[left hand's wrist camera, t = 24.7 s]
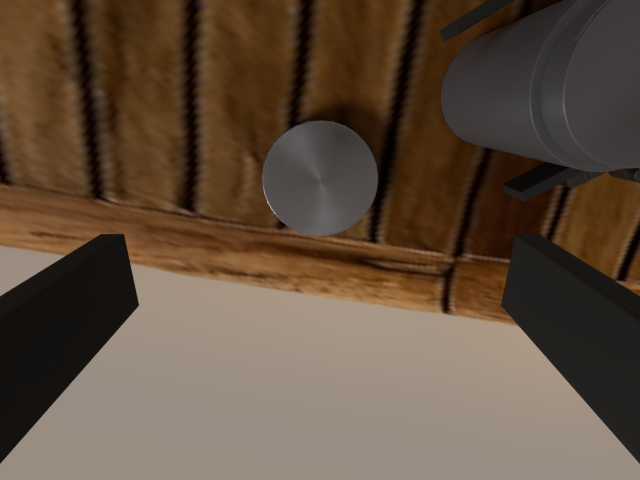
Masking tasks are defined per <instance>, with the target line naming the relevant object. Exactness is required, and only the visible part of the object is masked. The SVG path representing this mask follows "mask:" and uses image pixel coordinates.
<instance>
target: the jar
mask: <svg viewBox="0 0 640 480" xmlns="http://www.w3.org/2000/svg"><path fill="white" fill-rule="evenodd" d="M441 106H442V111H443V115H444V118H445V120H446V122H447V124H448V126H449V127H450V128H451V130H452V131H453V132H454V133H455V134H456V135H457V136H458V137H460V138H461V139H463V140H464V141H466V142H469V143H472V144H475V145H479V146H483V147H487V148H491V149H495V150H500V151H504V152H508V153H512V154H516V155H520V156H524V157H529V158H533V159H537V160H541V161H545V162H549V163H553V164H558V165H562V166H566V167H570V168H574V169H578V170H584V171H589V172H606V171H614V170H618V169H623V168H640V0H563V1H560V2H558V3H556V4H553V5H551V6H549V7H547V8H544V9H542V10H540V11H538V12H535V13H533V14H531V15H528V16H526V17H524V18H522V19H519V20H517V21H515V22H513V23H510V24H508V25H506V26H503V27H501V28H499V29H497V30H494V31H492V32H490V33H487V34H485V35H483V36H481V37H479V38H477V39H475V40H473V41H472V42H470V43H469V44H468V45H466V46H465V47H464V48H463V49H462V50H461V51H460V52H459V53H458V54H457V56H456V57H455V58H454V60H453V61H452V63H451V64H450V66H449V68H448V70H447V72H446V75H445V77H444V80H443V84H442V90H441Z"/></svg>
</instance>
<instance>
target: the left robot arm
mask: <svg viewBox="0 0 640 480" xmlns="http://www.w3.org/2000/svg"><path fill="white" fill-rule="evenodd" d="M138 306H139V303H138V298H137V294H136V289H135V284H134V279H133V275H132V270H131V265H130V261H129V256H128V251H127V246H126V242H125V237H124V234H101V235H99V236H97V237H96V238H94V239H92V240H91V241H89V242H88V243H86V244H84V245H83V246H81V247H79V248H78V249H76V250H75V251H73V252H71V253H70V254H68V255H66V256H65V257H63V258H62V259H60V260H58V261H57V262H55V263H53V264H52V265H50V266H49V267H47V268H45V269H44V270H42V271H41V272H39V273H37V274H36V275H34V276H32V277H31V278H29V279H28V280H26V281H24V282H23V283H21V284H19V285H18V286H16V287H15V288H13V289H11V290H10V291H8V292H6V293H5V294H3V295H2V296H0V463H1V462H2V461H3V460H4V459H5V458H6V456H7V455H8V454H9V453H10V452H11V451H12V450H13V448H14V447H15V446H16V445H17V444H18V443H19V442H20V440H21V439H22V438H23V437H24V436H25V435H26V434H27V432H28V431H29V430H30V429H31V428H32V427H33V426H34V425H35V423H36V422H37V421H38V420H39V419H40V418H41V417H42V415H43V414H44V413H45V412H46V411H47V410H48V409H49V407H50V406H51V405H52V404H53V403H54V402H55V401H56V399H57V398H58V397H59V396H60V395H61V394H62V393H63V391H64V390H65V389H66V388H67V387H68V386H69V385H70V383H71V382H72V381H73V380H74V379H75V378H76V377H77V376H78V374H79V373H80V372H81V371H82V370H83V369H84V368H85V366H86V365H87V364H88V363H89V362H90V361H91V360H92V358H93V357H94V356H95V355H96V354H97V353H98V352H99V350H100V349H101V348H102V347H103V346H104V345H105V344H106V343H107V341H108V340H109V339H110V338H111V337H112V336H113V335H114V333H115V332H116V331H117V330H118V329H119V328H120V326H121V325H122V324H123V323H124V322H125V321H126V320H127V319H128V317H129V316H130V315H131V314H132V313H133V312H134V311H135V309H136V308H137V307H138ZM501 306H502V307H503V308H504V309H505V311H506V312H507V313H508V314H509V315H510V316H511V317H512V319H513V320H514V321H515V322H516V323H517V324H518V325H519V327H520V328H521V329H522V330H523V331H524V332H525V333H526V335H527V336H528V337H529V338H530V339H531V340H532V341H533V342H534V344H535V345H536V346H537V347H538V348H539V349H540V350H541V352H542V353H543V354H544V355H545V356H546V357H547V358H548V360H549V361H550V362H551V363H552V364H553V365H554V366H555V368H556V369H557V370H558V371H559V372H560V373H561V374H562V376H563V377H564V378H565V379H566V380H567V381H568V382H569V384H570V385H571V386H572V387H573V388H574V389H575V390H576V391H577V393H578V394H579V395H580V396H581V397H582V398H583V399H584V401H585V402H586V403H587V404H588V405H589V406H590V407H591V409H592V410H593V411H594V412H595V413H596V414H597V415H598V417H599V418H600V419H601V420H602V421H603V422H604V423H605V425H606V426H607V427H608V428H609V429H610V430H611V431H612V432H613V434H614V435H615V436H616V437H617V438H618V439H619V441H620V442H621V443H622V444H623V445H624V446H625V447H626V448H627V450H628V451H629V452H630V453H631V454H632V455H633V456H634V458H635V459H636V460H637V461H638V462H639V463H640V296H638V295H637V294H635V293H634V292H632V291H630V290H629V289H627V288H625V287H624V286H622V285H621V284H619V283H617V282H616V281H614V280H612V279H611V278H609V277H608V276H606V275H604V274H603V273H601V272H599V271H598V270H596V269H595V268H593V267H591V266H590V265H588V264H587V263H585V262H583V261H582V260H580V259H578V258H577V257H575V256H574V255H572V254H570V253H569V252H567V251H565V250H564V249H562V248H561V247H559V246H557V245H556V244H554V243H552V242H551V241H549V240H548V239H546V238H544V237H543V236H541V235H539V234H516V237H515V242H514V246H513V251H512V256H511V261H510V265H509V270H508V275H507V279H506V284H505V289H504V294H503V298H502V303H501Z"/></svg>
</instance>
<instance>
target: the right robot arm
mask: <svg viewBox="0 0 640 480" xmlns="http://www.w3.org/2000/svg"><path fill="white" fill-rule="evenodd" d="M512 1H514V0H488V1H486V2H485V3H483V4H482V5H480V6H478V7H477V8H475V9H473V10H472V11H470V12H469V13H467V14H465V15H464V16H462V17H460V18H459V19H457V20H456V21H454V22H452V23H451V24H449V25H448V26H446V27H445V28H443V29H441V30H440V32H441V35H442V37H443V40H444V41H446V40H448V39H450V38H452V37H454V36H456V35H458V34H460V33H461V32H463V31H464V30H466V29H468V28H469V27H471V26H473V25H474V24H476V23H478V22H479V21H481V20H483V19H484V18H486V17H487V16H489V15H491V14H492V13H494V12H496V11H497V10H499V9H501V8H502V7H504V6H505V5H507V4H509V3H510V2H512ZM606 172H607V171H606ZM603 173H605V172H589V171H584V170H578V169H574V168H570V167H566V166H562V165H558V164H553V163H549V162H545V163H543V164H541V165H539V166H537V167H535V168H533V169H531V170H529V171H527V172H526V173H524V174H522V175H520V176H518V177H516V178H514V179H512V180H510V181H508V182H506V183H504V184H502V186H503V188H504V190H505V193H507V194H509V195H511V196H513V197H515V198H517V199H520V200H522V201H524V202H525V201H527V200H528V199H530V198H532V197H534V196H536V195H538V194H540V193H542V192H544V191H546V190H548V189H550V188H552V187H554V186H556V185H558V184H560V185H563V186H566V187H569V188H570V187H577V186H579V185H581V184H583V183H585V182H587V181H589V180H591V179H593V178H595V177H597V176H599V175H601V174H603ZM609 173H610V175H611V176H613V177H617V178H622V179H626V180H630V181H634V182H639V183H640V168H623V169H618V170H614V171H609Z"/></svg>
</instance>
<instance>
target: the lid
mask: <svg viewBox="0 0 640 480" xmlns="http://www.w3.org/2000/svg"><path fill="white" fill-rule="evenodd" d="M372 153H373V152H372V151H371V150H370V148H369V147H368V145H367V144H366V141H365V140H363V139H362V138H361V137H360V136H359V135H358V134H357V132H356V131H352V130H351V129H349V128H348V127H346V125H342V124H339V123H337V122H334V121H333V120H332V121H328V120H321V119H319V120H312V121H308V120H307V121H306V122H304V123H301V124H298V125H294V127H293V128H291V129H290V130H288V131H287V132H286V131H285V132H284V133H283V135H282V136H281V137H280V138H279V139H278V140H276V141H275V142H274V145H273V146H272V148H271V149H270V151H269V152H268V155H267V157H266V160H265V164H264V168H263V177H262V178H263V189H264V193H265V197H266V199H267V202H268V204H269V206H270V207H271V209H272V211H273V212H274V213H275V215H276V216H277V217H278V218H279V219H280V220H281V221H282V222H283V223H285V224H286V225H287V226H289V227H290V228H292V229H294V230H296V231H298V232H301V233H304V234H308V235H315V236H326V235H332V234H336V233H339V232H342V231H344V230H346V229H348V228H350V227H352V226H353V225H355V224H356V223H357V222H358V221H360V219H361V218H362V217H363V216H364V215H365V214H366V213H367V211H368V210H369V208H370V206H371V205H372V203H373V200H374V198H375V195H376V191H377V185H378V171H377V164H376V162H375V159H374V156H373V154H372Z"/></svg>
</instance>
